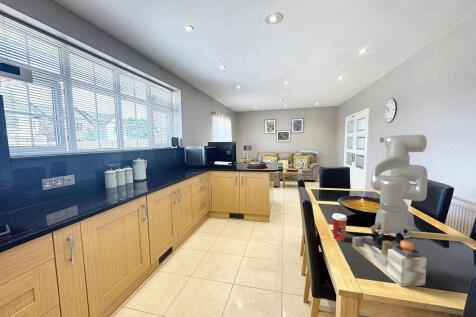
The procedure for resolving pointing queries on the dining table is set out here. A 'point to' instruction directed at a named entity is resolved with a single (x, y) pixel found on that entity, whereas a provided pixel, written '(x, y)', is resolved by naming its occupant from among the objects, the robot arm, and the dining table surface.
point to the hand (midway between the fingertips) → (389, 244)
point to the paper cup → (339, 226)
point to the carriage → (385, 252)
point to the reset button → (407, 245)
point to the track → (395, 262)
